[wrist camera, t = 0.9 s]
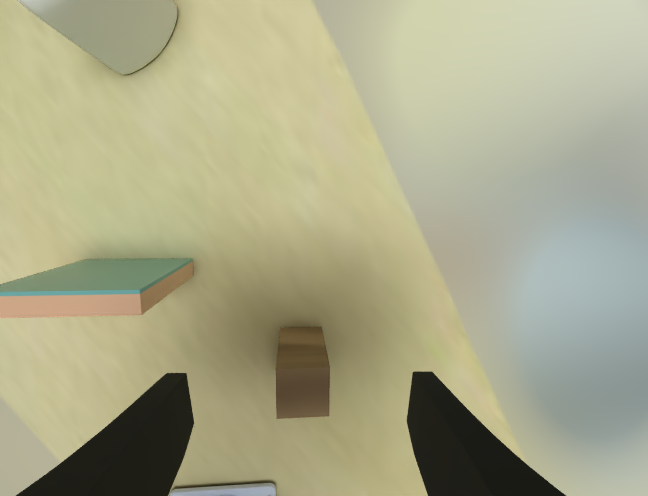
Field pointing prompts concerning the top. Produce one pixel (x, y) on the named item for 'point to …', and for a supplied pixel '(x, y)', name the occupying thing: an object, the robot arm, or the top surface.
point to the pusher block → (302, 373)
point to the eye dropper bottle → (111, 28)
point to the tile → (94, 288)
